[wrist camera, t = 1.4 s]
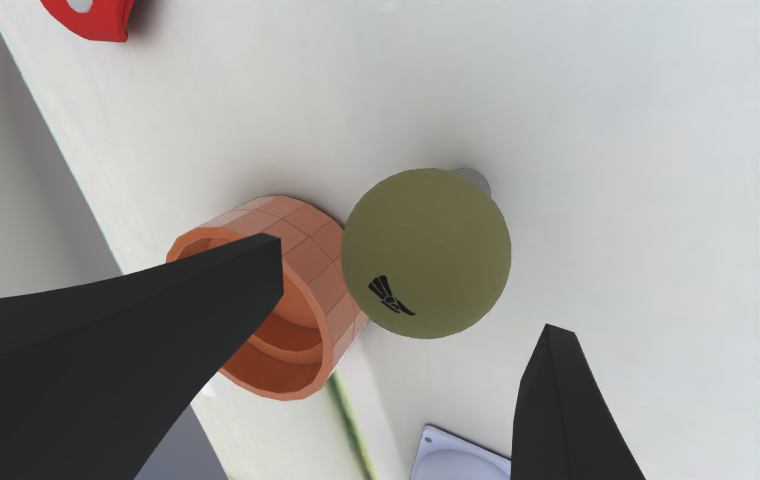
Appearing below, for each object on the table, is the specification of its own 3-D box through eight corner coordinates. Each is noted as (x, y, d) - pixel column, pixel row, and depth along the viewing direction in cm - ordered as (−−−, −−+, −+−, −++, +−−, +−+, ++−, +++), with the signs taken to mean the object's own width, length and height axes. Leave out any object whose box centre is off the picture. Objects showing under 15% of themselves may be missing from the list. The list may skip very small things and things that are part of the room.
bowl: (366, 364, 27) (327, 429, 22) (236, 310, 30) (178, 357, 26) (386, 220, 21) (339, 267, 17) (224, 174, 25) (149, 202, 20)
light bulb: (398, 214, 21) (293, 321, 13) (434, 113, 18) (326, 167, 10) (496, 258, 20) (449, 409, 12) (550, 158, 17) (540, 264, 9)
